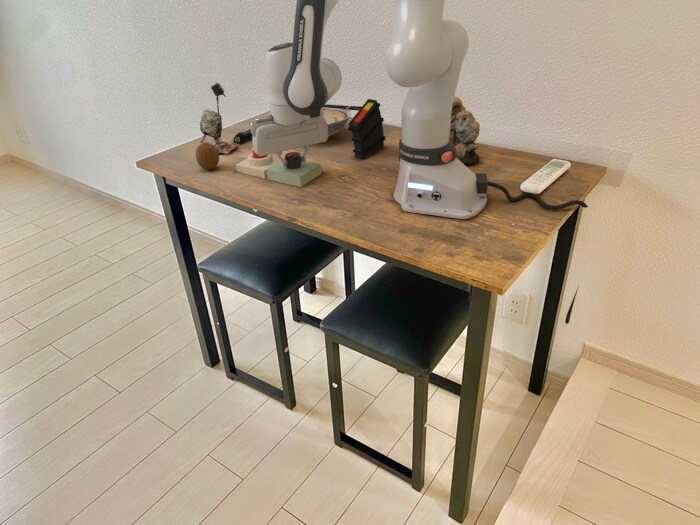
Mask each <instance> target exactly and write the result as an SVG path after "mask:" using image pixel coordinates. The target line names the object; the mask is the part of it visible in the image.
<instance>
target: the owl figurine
mask: <svg viewBox="0 0 700 525" xmlns="http://www.w3.org/2000/svg"><path fill="white" fill-rule="evenodd" d="M480 128H481V125H480V123H479V122H478V121H477V120H476V118H475V117H474V115H473V113H472V112H471V111H470V110H467V109H466V107H465V106H464V105H463V100H462V99H460V97H459V96H457V95H455V96H454V100H453V105H452V111H451V123H450V135H449V139H450V141H451V143H452V144H453V145H454V146H456V145H457V144H459V146H458V148H459V149H458V150H457V151H456V158H457V159H458V160H460V161H461V162H462V163H463V164H464V165H465V166H466V167H468V165H469V166H474V165H475V164H478V163H479V161H480V156H479V154H478V153H477V152H476V151H477V150H479V147H480V145H478V143H477V144H476V143H475V142H476V141H477V139H478V137H479V135H480V130H481V129H480Z"/></svg>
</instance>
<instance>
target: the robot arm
mask: <svg viewBox="0 0 700 525" xmlns="http://www.w3.org/2000/svg"><path fill="white" fill-rule="evenodd" d="M339 1H340V0H296V6H295V13H294V22H293V23H294V25H293V36H292V42H285V43H280V44H277V45H275V46H273V47H271V48H269V49H268V51H267V52H266V55H265V76H266V77H265V78H266V84H267V87H268V91H269V98H268V102H269V111H270V115H267V116H263V117H257V118H254V120H253V121H251V123H250V125H249V129H250V130H251V134H252V138H251V141H252V142H251V143H252V151H253V150H254V152H255V153H256V154H258V155H259V156H264V155H268V154H272V155H273V154H274V156H275V157H278V158H279V160H280V165H281V166H282V167H285V166H288V164H287V160H286V159H285V157H282V156H283V154H284V153H283V152H286V151H290V150H295V149H299V148H301V149H302V150H301V152H300V159H301V163H302V162H306V161H307V156H308V153H309V151H310V146H313V145H317V144H322V143H325V142H327V140H328V139H329V136H328V127H327V122H326V119H325V118H324V117H322V116H323V115H324V110H323V108H322V107H323V106H324V105H325V103H328V102H329V100H331V99H332V98H333V96H334V95H336V93H337V92H339V90H340V88H341V85H342V80H343V78H342V73H341V70H340V68H339V66H338V65H337V64H336V62H334V61H333V60H331V59H329V58H326V57H322V56H323V54H322V53H323V44H324V34H325V29H326V24H327V22H328V19H329V18H330V15H331V13H332V11H334V8H335V7H336V6H337V5H338V3H339ZM445 1H446V0H393V10H392V12H393V13H392V28H391V38H390V43H389V45H388V48H387V51H386V53H385V58H384V63H385V64H384V66H385V70H386V72H387V74H388V77H389V78H390V79H391V81H392V82H393V83H394V84H396V85H398V86H399V87H403V88H408V92H407V94H406V96H405V99H404V101H403V103H402V106H401V107H402V108H401V131H400V132H401V133H400V134H401V135H400V139H399V142H398V144H399V145H398V161H399V168H398V175H397V181H396V185H395V189H394V191H393V198H394V201H396V202H397V203H398V204H399V205H400V207H401V210H402V211H403V212H407V213H415V214H421V215H428V216H429V215H430V216H434V217H435V216H436V217H444V218H450V219H451V218H452V219H457V220H467V219H468V220H469V219H471V218H473V217H475V216H477V215H478V214H479V213H480V212H482V211H483V210H484V208H485V207H486V205H487V202H488V197H487V194H488V186H489V187H492V188H495V189H498V190H500V191H501V192H503V193H504V195H505V198H506V199H507V200H508V201H509V202H513V203H517V202H519V201H521V200H522V199H523V198H526V197H531V198H534V199H535V200H536V201H537V202H538V203H539V205H540V206H541V207H543V208H545V209H548V210H552V211H553V210H554V211H556V210H561V209H565V208H568V207H571V206H574V205H578V206H580V207H582V208H584V209H585V208H586V209H587V208H589V206H588V204H587V203H585V202H584V201H582V200H580V199H573V200H571V201H567V202H565V203H562V204H557V205H555V204H554V205H552V204H548V203H546V202H545V201H544V200H543V199H542V198H541V196H540V195H539V194H536V193H535V192H528V191H527V192H523V193H520V194H519V195H518V196H516V197H513V196H512V195H511V194H510V192H509V190H508V189H507V188H506V187H505V186H503V185H501V184H498V183H495V182H492V181H489V180H488V176H487V173H486V172H485V173H484V172H473V171H472V170H471V169H469V168H468V166H465V165H464V164H463V163H462V162H461V161H460V160H458V159H457V158H456V151H457V150H458V149H459V148H458V146H459V144H457V145H456V146H454V145H453V144H452V143H451V141H450V139H449V135H450V123H451V111H452V105H453V100H454V96H456V95H455V94H456V91H457V87H458V83H459V80H460V74H461V70H462V66H463V62H464V60H465V57H466V55H467V53H468V50H469V45H470V41H469V40H470V39H469V35H468V32H467V30H466V29H465V27H464V26H462V24H460V23H459V22H457V21H454V20H450V19H444V10H445V8H444V7H445ZM579 288H580V286H579V285H578V286H577V288H576V290H575V293H574V295H573V297H572V299H571V300H572V301H571V303H570V305H569V308H568V311H567V312H566V316H565V320H564V323H565V324H566V325H569V324H570V320H571V315H572V311H573V308H574V305H575V304H574V303H575V301H576V297H577V294H578V290H579Z"/></svg>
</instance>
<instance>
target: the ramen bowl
mask: <svg viewBox="0 0 700 525" xmlns="http://www.w3.org/2000/svg"><path fill="white" fill-rule="evenodd" d="M362 106H363V105H361V106H357V105H343V104H340V103H333V102H326V103H325V105H324V106H323V107H322V108H323V110H324V115H323V116H322V117H324V118H325V119H326V122H327V127H328V137H331V136H334V135H335V134H337V133H339V132H340V131H342V130H343V128H344V127H345V126H346V125H347V122H348V121H349V120H350V118H351V115H352V113H353V111H357V112H358V111H359V110H360V109H361V107H362Z"/></svg>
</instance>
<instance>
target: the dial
mask: <svg viewBox="0 0 700 525" xmlns="http://www.w3.org/2000/svg"><path fill="white" fill-rule="evenodd" d="M300 154H301V152H297V151H296V152H295V151H289V152H286V153H285V155H284V158H285V159H286V160H287V164H288V166H286V167H287V168H289V169H296V168H299V167H301V159H300Z"/></svg>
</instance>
